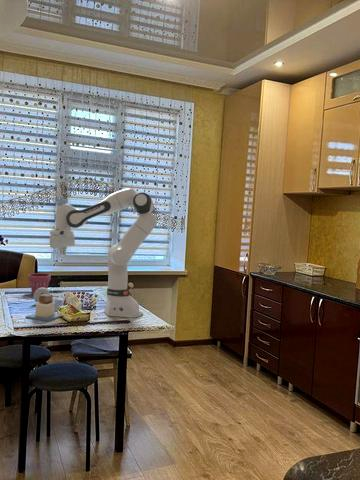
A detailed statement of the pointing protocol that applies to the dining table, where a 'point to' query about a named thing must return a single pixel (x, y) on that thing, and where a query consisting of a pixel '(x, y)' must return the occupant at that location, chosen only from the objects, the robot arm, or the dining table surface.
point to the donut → (39, 291)
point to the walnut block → (45, 298)
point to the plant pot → (39, 281)
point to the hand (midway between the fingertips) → (62, 254)
